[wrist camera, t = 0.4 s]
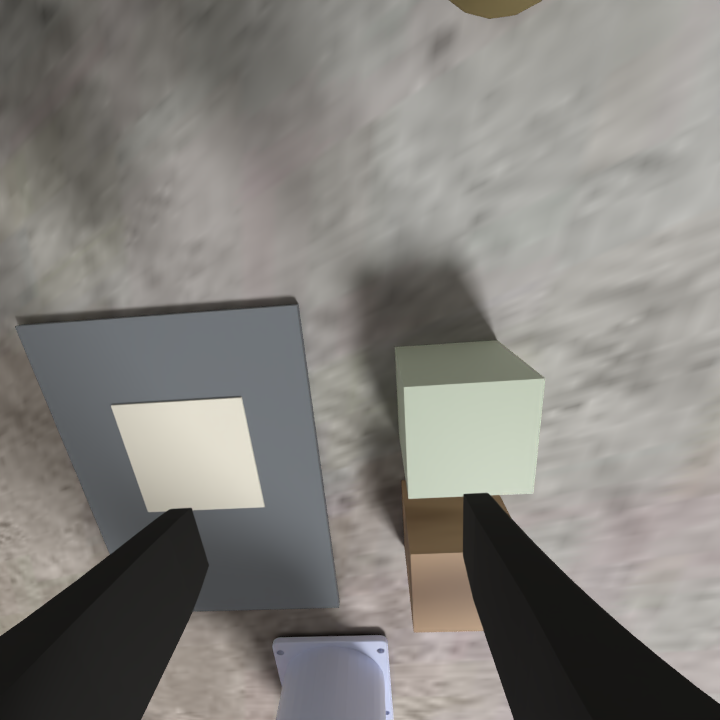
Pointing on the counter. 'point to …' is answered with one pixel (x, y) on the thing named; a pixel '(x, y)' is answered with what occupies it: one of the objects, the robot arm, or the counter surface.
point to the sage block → (467, 419)
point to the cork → (494, 7)
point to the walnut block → (438, 564)
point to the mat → (198, 441)
